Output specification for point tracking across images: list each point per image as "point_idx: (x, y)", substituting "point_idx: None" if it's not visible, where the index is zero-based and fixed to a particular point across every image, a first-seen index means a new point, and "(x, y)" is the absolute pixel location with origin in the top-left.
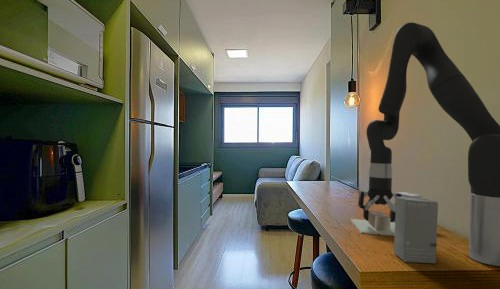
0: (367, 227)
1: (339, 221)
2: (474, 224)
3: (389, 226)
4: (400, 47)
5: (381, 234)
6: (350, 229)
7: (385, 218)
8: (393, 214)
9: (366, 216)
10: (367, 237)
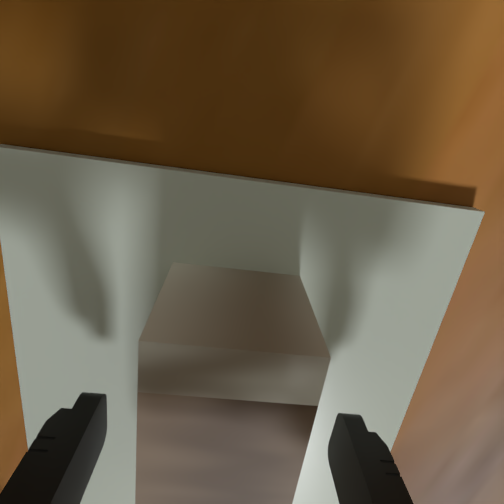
0: (340, 349)
1: (448, 498)
2: None
3: (171, 283)
4: None
5: (289, 184)
6: (492, 316)
7: (210, 339)
8: (41, 470)
9: (374, 449)
10: (488, 68)
